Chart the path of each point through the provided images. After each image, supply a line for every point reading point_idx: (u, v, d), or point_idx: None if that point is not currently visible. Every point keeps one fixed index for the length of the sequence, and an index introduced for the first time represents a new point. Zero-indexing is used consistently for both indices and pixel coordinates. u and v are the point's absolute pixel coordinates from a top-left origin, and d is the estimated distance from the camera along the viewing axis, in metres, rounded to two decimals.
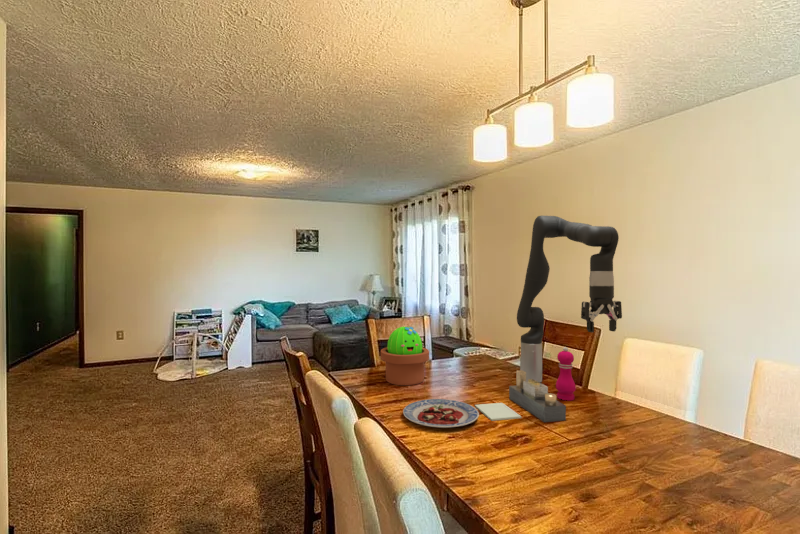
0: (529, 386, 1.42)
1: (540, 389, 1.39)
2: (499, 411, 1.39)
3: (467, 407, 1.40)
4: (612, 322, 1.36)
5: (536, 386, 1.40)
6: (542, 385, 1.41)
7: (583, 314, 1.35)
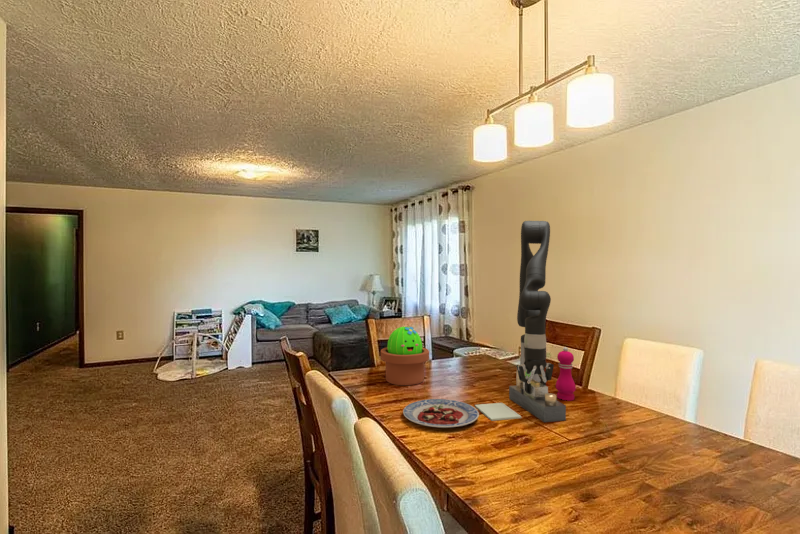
0: None
1: (540, 389, 1.39)
2: (499, 411, 1.39)
3: (467, 407, 1.40)
4: None
5: (536, 386, 1.40)
6: (542, 385, 1.41)
7: (520, 376, 1.43)
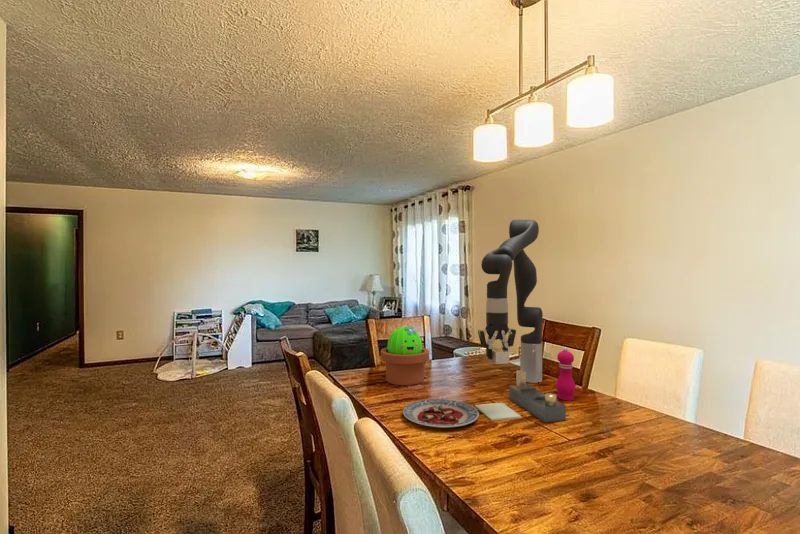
0: None
1: (500, 354, 1.36)
2: (499, 411, 1.39)
3: (467, 407, 1.40)
4: (504, 349, 1.40)
5: (497, 351, 1.37)
6: (504, 350, 1.38)
7: None
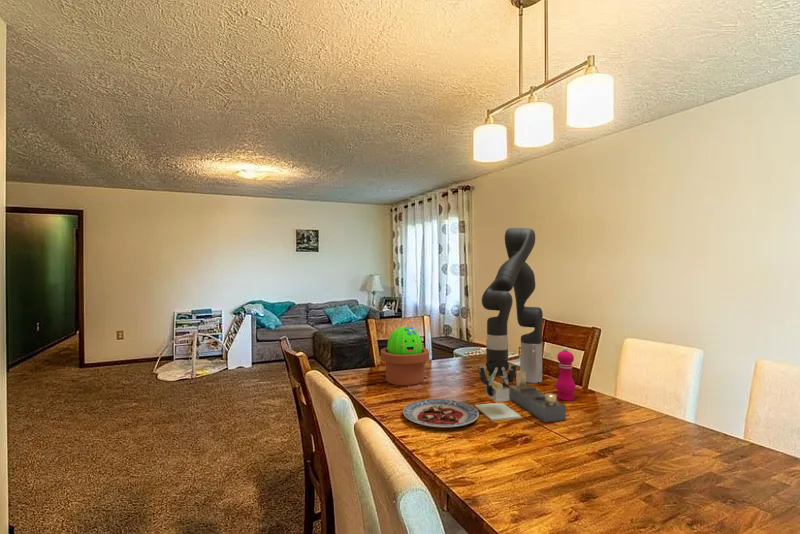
0: None
1: (501, 392, 1.36)
2: (499, 411, 1.39)
3: (467, 407, 1.40)
4: None
5: (497, 388, 1.37)
6: (504, 387, 1.38)
7: None
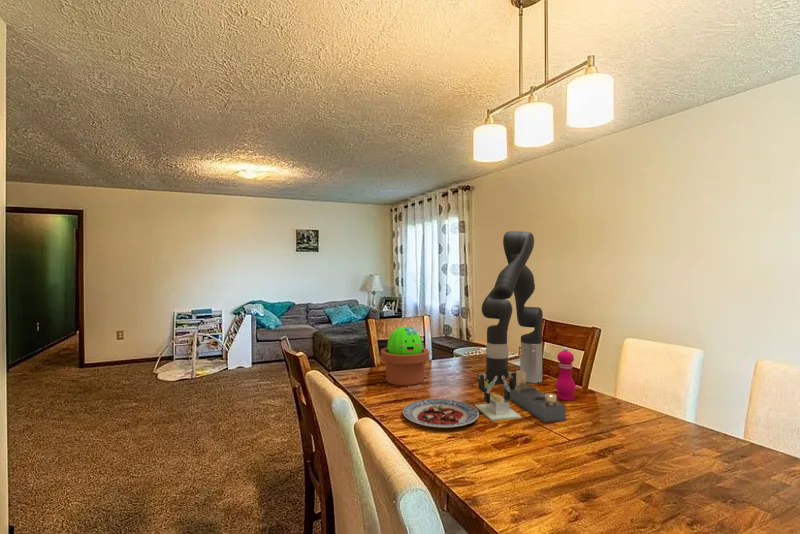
0: (491, 401, 1.39)
1: (501, 405, 1.36)
2: None
3: (467, 407, 1.40)
4: (506, 393, 1.40)
5: (497, 402, 1.37)
6: (504, 400, 1.38)
7: (480, 386, 1.39)
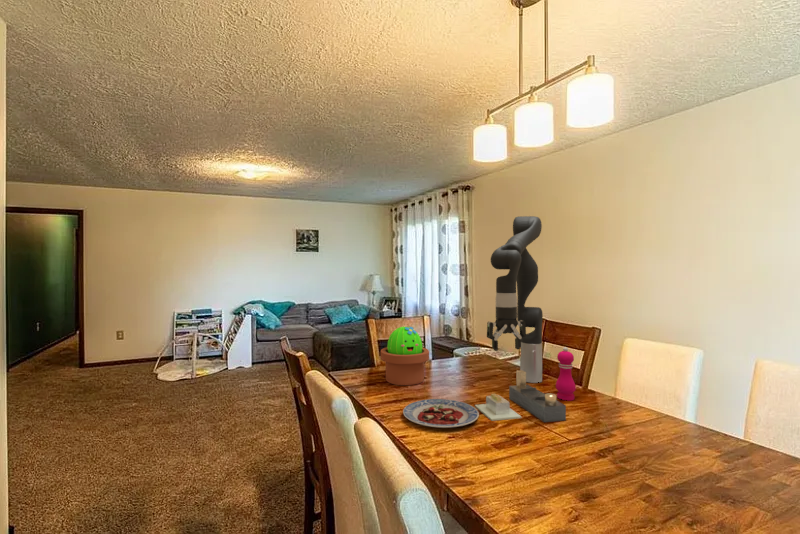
0: (491, 401, 1.39)
1: (501, 405, 1.36)
2: None
3: (467, 407, 1.40)
4: (517, 340, 1.43)
5: (497, 402, 1.37)
6: (504, 400, 1.38)
7: (488, 333, 1.42)
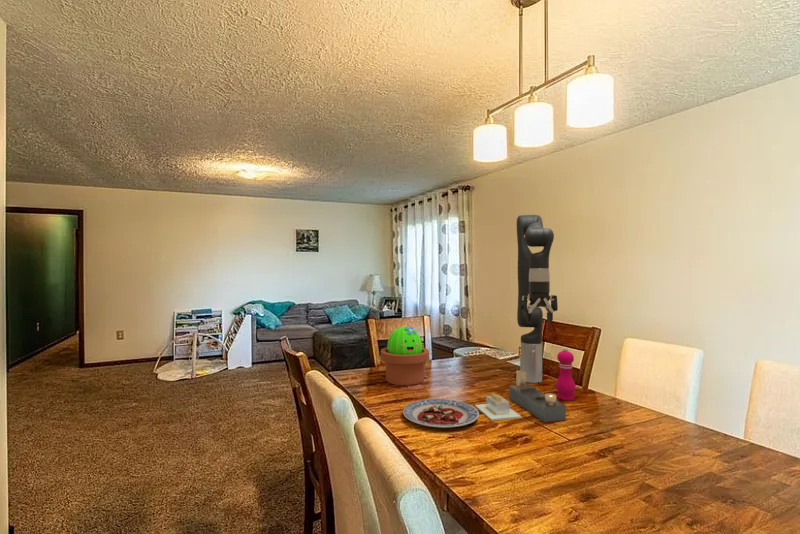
0: (491, 401, 1.39)
1: (501, 405, 1.36)
2: None
3: (467, 407, 1.40)
4: (549, 314, 1.52)
5: (497, 402, 1.37)
6: (504, 400, 1.38)
7: (522, 307, 1.51)
